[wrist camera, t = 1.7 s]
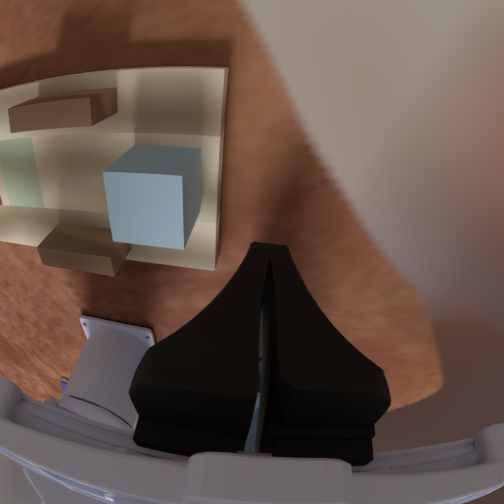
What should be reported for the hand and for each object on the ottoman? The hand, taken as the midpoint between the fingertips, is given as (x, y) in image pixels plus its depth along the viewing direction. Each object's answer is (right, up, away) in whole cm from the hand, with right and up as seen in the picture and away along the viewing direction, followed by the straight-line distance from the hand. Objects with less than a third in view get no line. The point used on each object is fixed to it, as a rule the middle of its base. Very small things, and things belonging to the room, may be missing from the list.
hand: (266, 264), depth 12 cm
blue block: (-6, +5, +6) cm, 9 cm away
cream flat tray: (-14, +7, +7) cm, 17 cm away
